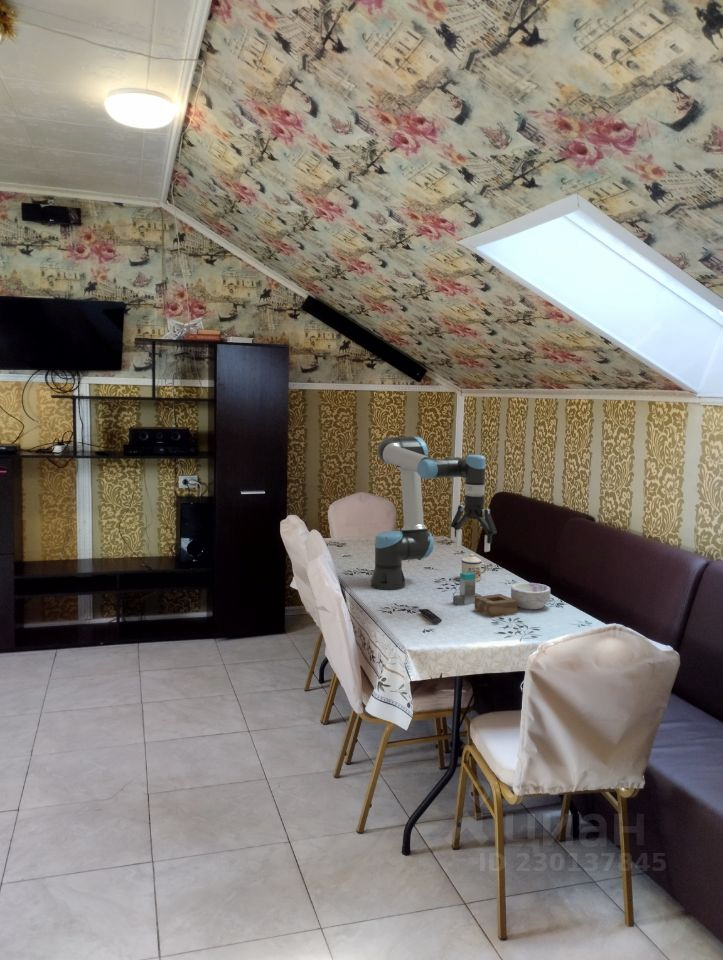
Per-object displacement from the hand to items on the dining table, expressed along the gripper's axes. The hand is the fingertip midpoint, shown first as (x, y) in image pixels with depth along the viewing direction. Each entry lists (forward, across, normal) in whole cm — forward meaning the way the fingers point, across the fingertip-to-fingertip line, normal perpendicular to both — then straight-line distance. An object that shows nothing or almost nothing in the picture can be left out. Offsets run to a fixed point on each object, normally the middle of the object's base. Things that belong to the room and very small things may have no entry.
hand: (472, 548), depth 296 cm
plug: (+23, -3, +2) cm, 23 cm away
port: (+23, +12, 0) cm, 26 cm away
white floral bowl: (+23, +17, +16) cm, 33 cm away
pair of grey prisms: (+23, -3, +2) cm, 23 cm away
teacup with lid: (+24, -24, +36) cm, 50 cm away
